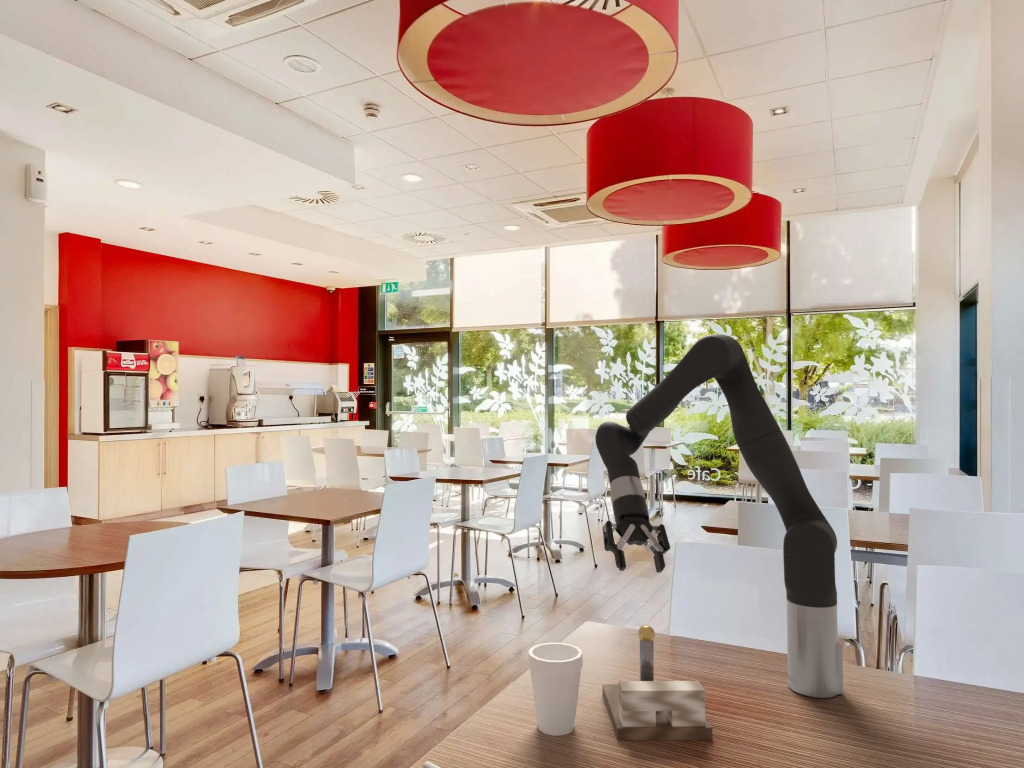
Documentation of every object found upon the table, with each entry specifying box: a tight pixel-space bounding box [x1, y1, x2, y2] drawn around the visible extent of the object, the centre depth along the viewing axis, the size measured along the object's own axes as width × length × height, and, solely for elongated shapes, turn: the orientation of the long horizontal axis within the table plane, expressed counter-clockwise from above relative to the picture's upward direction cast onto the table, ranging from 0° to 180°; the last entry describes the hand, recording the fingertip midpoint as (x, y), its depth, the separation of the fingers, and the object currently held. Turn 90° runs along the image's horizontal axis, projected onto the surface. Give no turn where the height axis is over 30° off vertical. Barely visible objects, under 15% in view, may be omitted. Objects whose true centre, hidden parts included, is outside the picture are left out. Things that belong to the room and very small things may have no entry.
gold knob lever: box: [637, 624, 656, 681], centre depth 126 cm, size 3×9×12 cm, turn 0°
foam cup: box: [527, 642, 584, 737], centre depth 119 cm, size 10×9×13 cm
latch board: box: [601, 680, 713, 741], centre depth 123 cm, size 16×18×8 cm
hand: (641, 570), depth 142 cm, fingers open, 8 cm apart
